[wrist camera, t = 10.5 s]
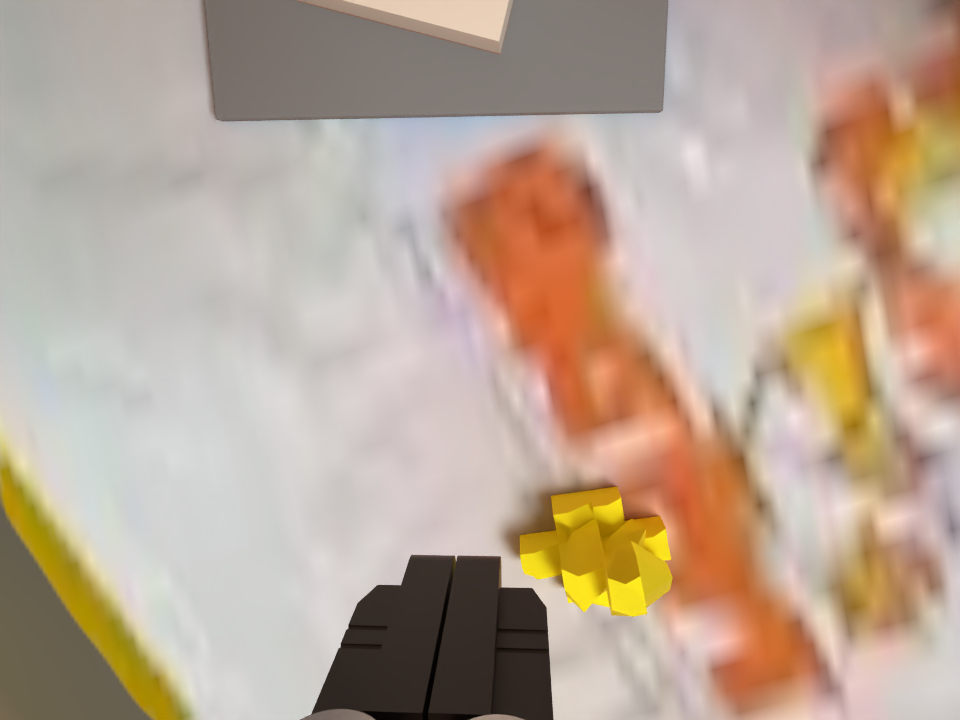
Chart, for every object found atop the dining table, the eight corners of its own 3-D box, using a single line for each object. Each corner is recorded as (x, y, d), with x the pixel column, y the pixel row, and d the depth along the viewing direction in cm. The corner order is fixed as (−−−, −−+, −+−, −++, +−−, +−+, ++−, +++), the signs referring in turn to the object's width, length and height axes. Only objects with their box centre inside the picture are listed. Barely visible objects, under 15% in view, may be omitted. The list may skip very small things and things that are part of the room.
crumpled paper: (513, 500, 37) (512, 573, 30) (655, 480, 37) (690, 550, 29) (530, 591, 39) (532, 684, 31) (667, 574, 38) (704, 664, 30)
